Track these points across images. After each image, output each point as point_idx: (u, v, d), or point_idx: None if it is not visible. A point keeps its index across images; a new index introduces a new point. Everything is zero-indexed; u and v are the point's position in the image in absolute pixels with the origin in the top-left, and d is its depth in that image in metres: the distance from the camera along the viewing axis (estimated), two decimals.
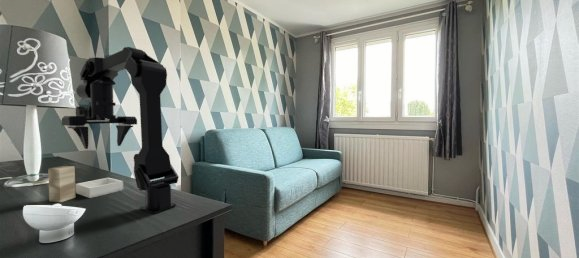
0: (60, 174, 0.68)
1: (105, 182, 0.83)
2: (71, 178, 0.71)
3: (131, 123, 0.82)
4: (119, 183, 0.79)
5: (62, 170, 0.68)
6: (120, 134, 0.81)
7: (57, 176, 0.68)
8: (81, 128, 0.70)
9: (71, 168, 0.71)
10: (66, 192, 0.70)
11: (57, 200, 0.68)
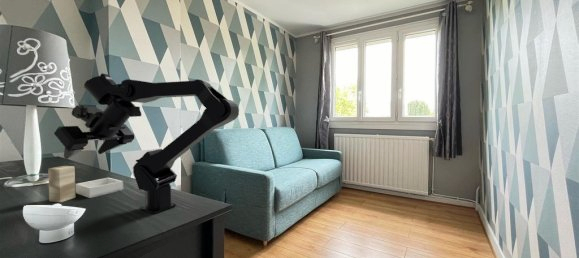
0: (60, 174, 0.68)
1: (105, 182, 0.83)
2: (71, 178, 0.71)
3: (127, 142, 0.74)
4: (119, 183, 0.79)
5: (62, 170, 0.68)
6: (108, 146, 0.72)
7: (57, 176, 0.68)
8: (76, 150, 0.60)
9: (71, 168, 0.71)
10: (66, 192, 0.70)
11: (57, 200, 0.68)
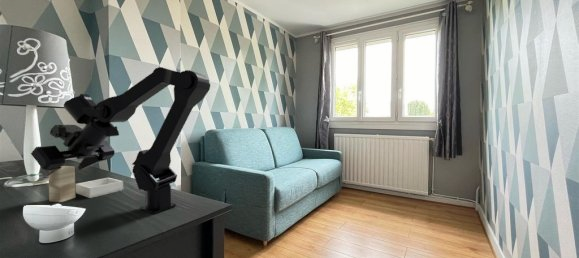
0: (60, 174, 0.68)
1: (105, 182, 0.83)
2: (71, 178, 0.71)
3: (107, 158, 0.75)
4: (119, 183, 0.79)
5: (62, 170, 0.68)
6: (88, 162, 0.74)
7: (57, 176, 0.68)
8: (53, 169, 0.62)
9: (71, 168, 0.71)
10: (66, 192, 0.70)
11: (57, 200, 0.68)
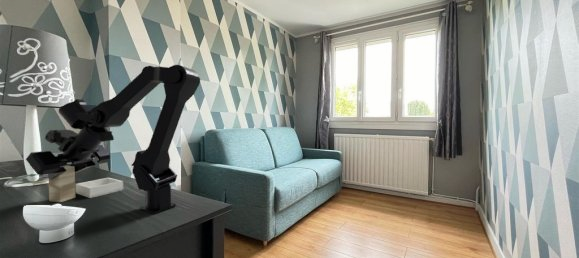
0: None
1: (105, 182, 0.83)
2: (71, 178, 0.71)
3: (102, 162, 0.76)
4: (119, 183, 0.79)
5: None
6: (75, 168, 0.72)
7: (57, 176, 0.68)
8: (59, 172, 0.65)
9: (71, 168, 0.71)
10: (66, 192, 0.70)
11: (57, 200, 0.68)
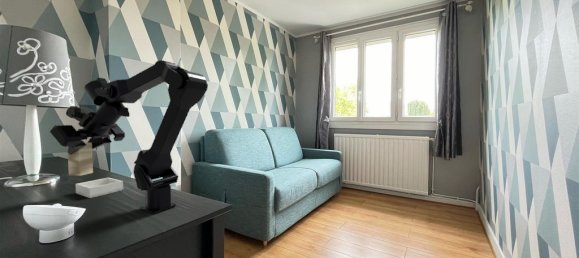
0: None
1: (105, 182, 0.83)
2: (89, 154, 0.74)
3: (118, 140, 0.79)
4: (119, 183, 0.79)
5: None
6: (93, 144, 0.75)
7: (77, 151, 0.71)
8: (79, 146, 0.68)
9: (89, 144, 0.74)
10: (85, 166, 0.73)
11: (76, 174, 0.71)
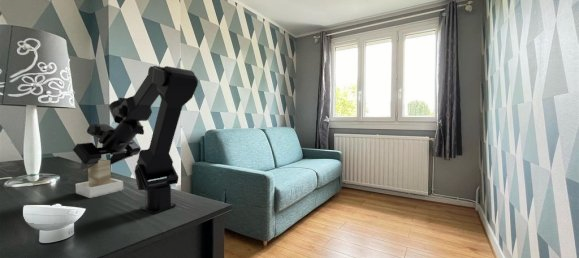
0: (99, 166, 0.75)
1: None
2: (107, 171, 0.78)
3: (133, 154, 0.83)
4: (119, 183, 0.79)
5: (100, 163, 0.76)
6: (116, 158, 0.81)
7: (96, 169, 0.75)
8: (92, 163, 0.70)
9: (108, 162, 0.78)
10: (103, 183, 0.77)
11: None
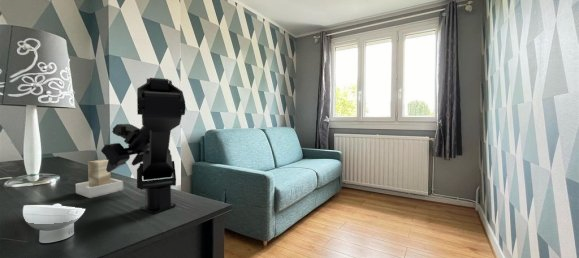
0: (99, 166, 0.75)
1: None
2: None
3: None
4: (119, 183, 0.79)
5: (100, 163, 0.76)
6: (141, 158, 0.80)
7: (96, 169, 0.75)
8: (120, 165, 0.68)
9: None
10: (103, 183, 0.77)
11: None
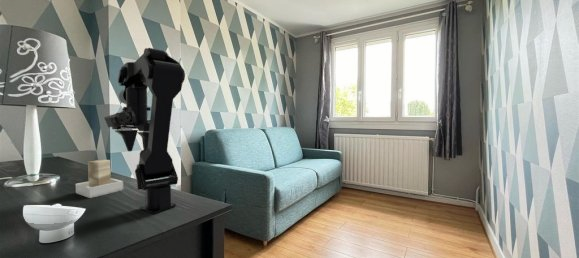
0: (99, 166, 0.75)
1: None
2: (107, 171, 0.78)
3: None
4: (119, 183, 0.79)
5: (100, 163, 0.76)
6: (131, 139, 0.80)
7: (96, 169, 0.75)
8: None
9: (108, 162, 0.78)
10: (103, 183, 0.77)
11: None
